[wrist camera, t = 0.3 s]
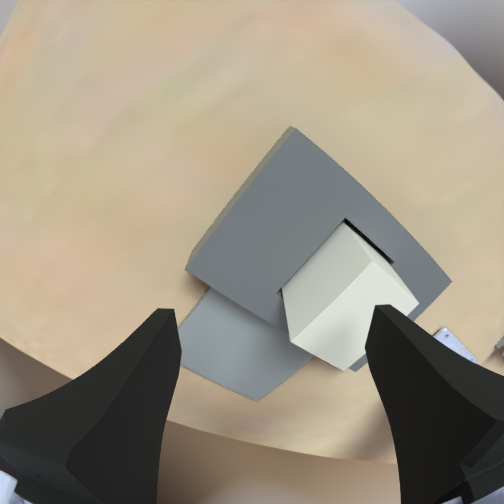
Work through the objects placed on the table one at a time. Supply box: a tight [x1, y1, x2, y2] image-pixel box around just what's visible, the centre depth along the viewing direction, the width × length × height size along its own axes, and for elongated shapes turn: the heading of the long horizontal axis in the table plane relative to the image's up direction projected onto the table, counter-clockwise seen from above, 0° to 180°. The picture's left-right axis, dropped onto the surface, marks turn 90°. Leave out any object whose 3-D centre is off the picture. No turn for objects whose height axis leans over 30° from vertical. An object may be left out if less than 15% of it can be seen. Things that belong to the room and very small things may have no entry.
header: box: [185, 126, 452, 372], centre depth 19 cm, size 15×10×2 cm, turn 53°
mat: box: [177, 287, 315, 402], centre depth 24 cm, size 10×8×1 cm
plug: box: [282, 219, 419, 371], centre depth 18 cm, size 4×6×7 cm
